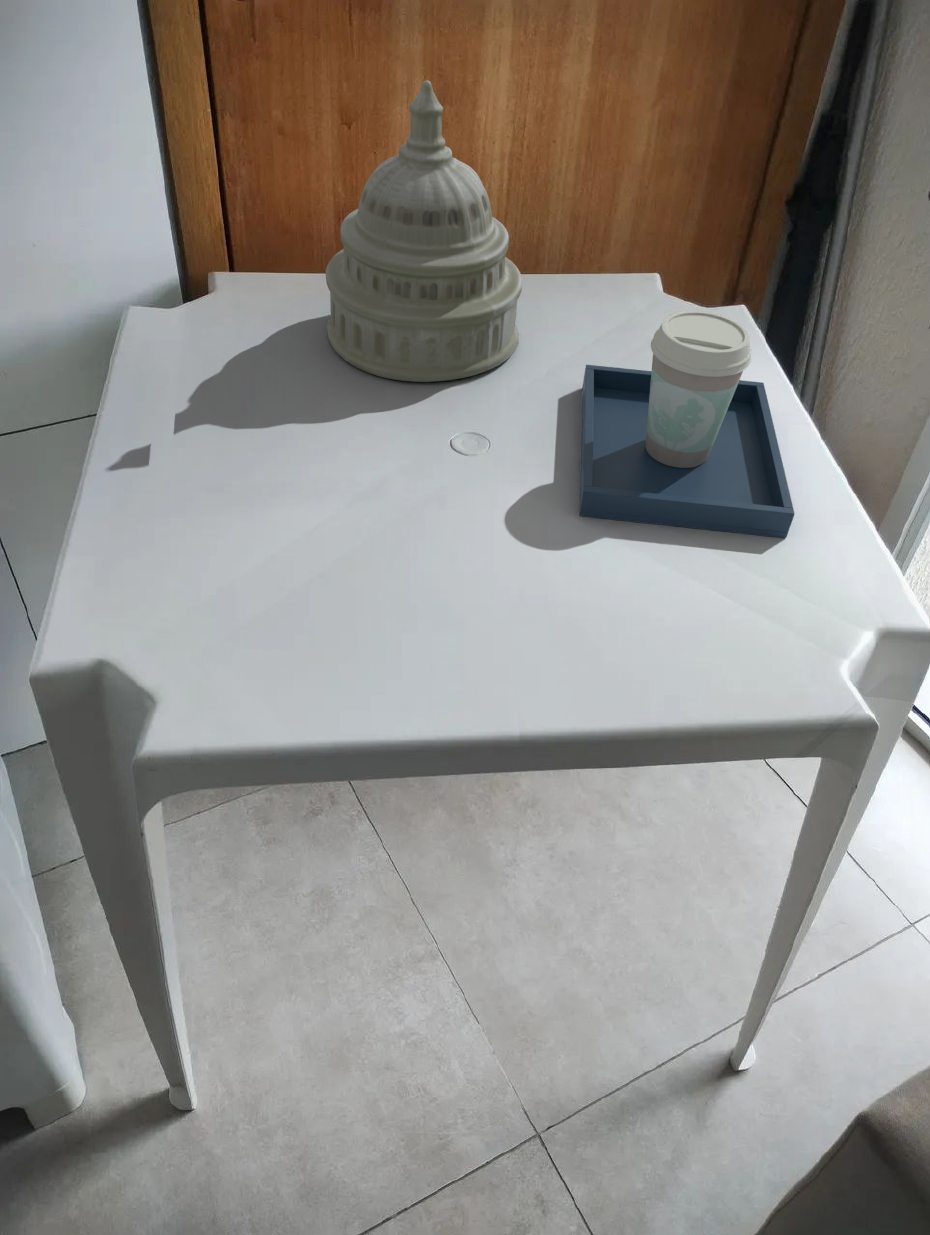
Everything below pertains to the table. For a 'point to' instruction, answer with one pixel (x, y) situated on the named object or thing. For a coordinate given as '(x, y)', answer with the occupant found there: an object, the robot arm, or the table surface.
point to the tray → (685, 497)
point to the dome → (423, 266)
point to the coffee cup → (692, 384)
